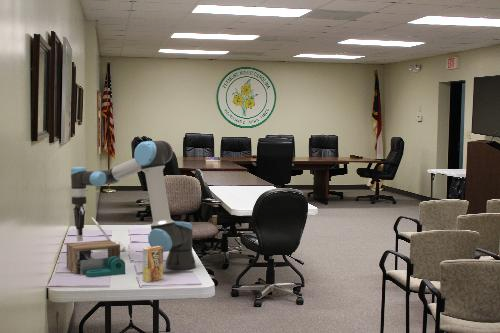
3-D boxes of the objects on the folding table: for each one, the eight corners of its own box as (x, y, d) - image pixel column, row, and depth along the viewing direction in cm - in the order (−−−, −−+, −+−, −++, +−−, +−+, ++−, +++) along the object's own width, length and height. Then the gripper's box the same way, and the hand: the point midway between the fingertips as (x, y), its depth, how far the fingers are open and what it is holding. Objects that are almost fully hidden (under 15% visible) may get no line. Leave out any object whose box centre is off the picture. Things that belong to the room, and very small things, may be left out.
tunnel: (120, 269, 320) (120, 245, 319) (75, 274, 308) (75, 249, 307) (109, 263, 333) (109, 239, 332) (66, 267, 322) (66, 243, 321)
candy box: (157, 277, 304) (157, 245, 303) (163, 279, 301) (163, 246, 300) (142, 280, 298) (142, 248, 297) (148, 282, 295) (148, 249, 294)
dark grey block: (119, 270, 316) (119, 251, 316) (80, 274, 306) (80, 255, 306) (101, 259, 339) (101, 242, 339) (64, 263, 329) (64, 245, 329)
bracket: (120, 271, 317) (120, 255, 316) (125, 274, 311) (125, 258, 310) (84, 275, 307) (84, 259, 307) (88, 278, 302) (88, 261, 301)
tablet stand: (93, 254, 357) (93, 223, 356) (87, 245, 380) (87, 217, 379) (126, 252, 363) (126, 222, 362) (118, 244, 387) (118, 215, 385)
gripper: (89, 197, 335) (90, 242, 337) (82, 194, 346) (83, 238, 348) (75, 197, 331) (76, 243, 333) (68, 195, 342) (69, 239, 344)
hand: (79, 240), depth 340 cm, fingers closed
